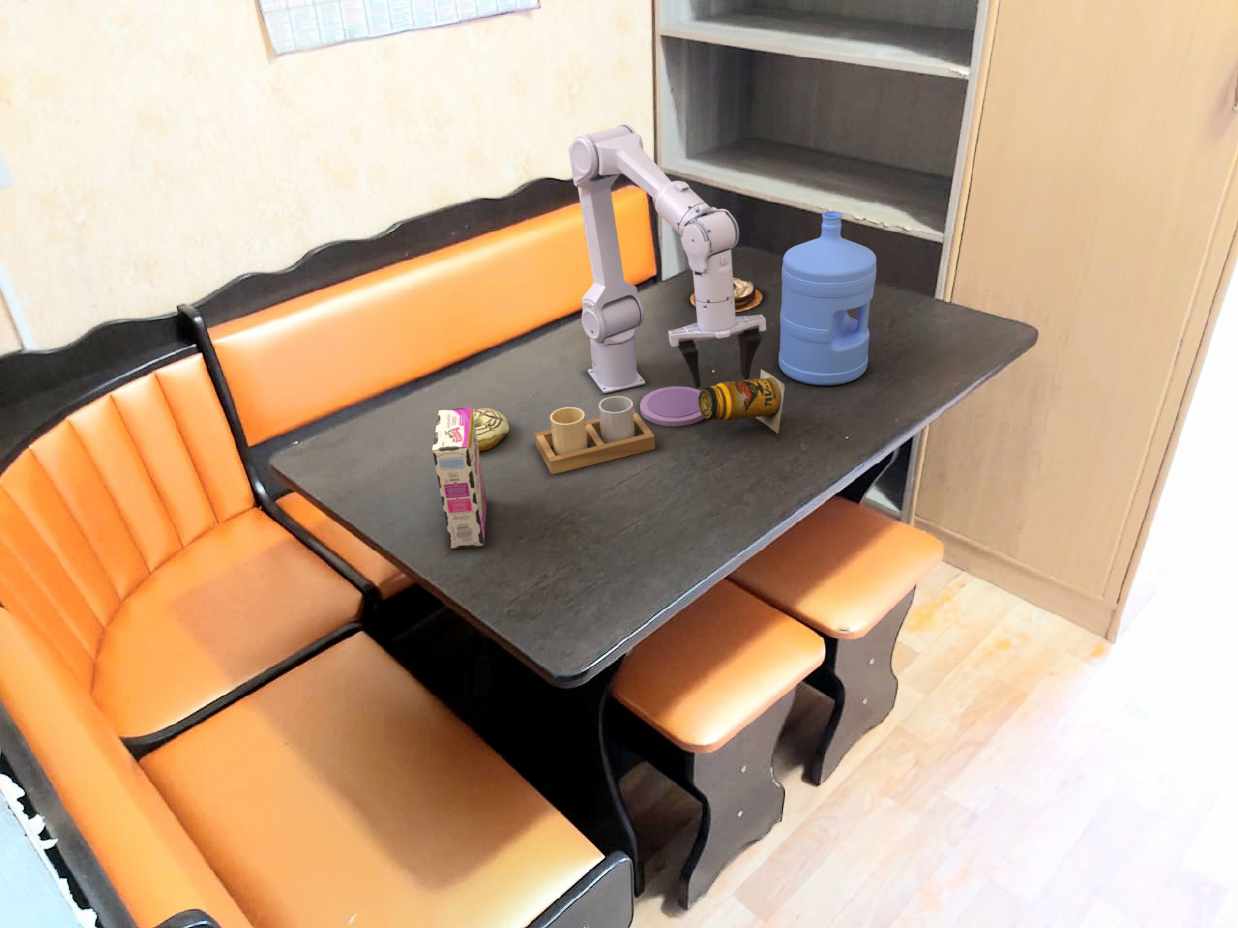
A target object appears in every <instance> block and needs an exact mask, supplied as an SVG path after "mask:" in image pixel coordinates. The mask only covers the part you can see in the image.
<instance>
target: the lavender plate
mask: <svg viewBox="0 0 1238 928" xmlns="http://www.w3.org/2000/svg"><path fill="white" fill-rule="evenodd" d="M700 391H701V389H698V388H695V387H689V386H677V385H676V386H674V385H673V386H666V387H661V388H658V389H655V390H652V391H650V392H649V393H647V394H646V395H645V396H643V397H642V398H641V400H640V403H639V410H640V414H641V416H642V417H643V418H644V419H646V421H648V422H650V423H652V424H655V425H657V426H662V427H664V426H665V427H683V426H689V425H693V424H696V423H699V422H700V421H702V420H705V418H703V416H702V415H701V413H700V410H699V405H698V398H699V393H700Z"/></svg>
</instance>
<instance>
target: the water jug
mask: <svg viewBox="0 0 1238 928" xmlns="http://www.w3.org/2000/svg"><path fill="white" fill-rule="evenodd" d="M821 216H822V223H821V235H820V236H819V237H816V238H814V239H811V240H808V241H806V242H803V243H800V244H796V245H794V246H793V247H791V248H789V249H788V250H787V251H786V252H785V253H784V255H783V258H782V267H781V283H782V284H781V308H780V314H779V322H780V323H779V324H780V335H779V337H780V338H779V352H778V366H779V368H780V370H781V372H782V373H783V374H785V375H786V376H787V377H788V378H790V379H792V380H794V381H796V382H798V383H799V382H800V383H802V384H807V385H812V386H821V387H823V386H824V387H826V386H828V387H831V386H838V385H844V384H847V383H851V382H853V381H855V380H857V379H859V378H860V377H862V375H864V374H865V372H866V371H867V368H868V366H869V365H868V363H869V354H868V353H869V346H870V345H869V344H870V335H871V334H870V330H869V326H868V325H869V315H870V304H871V300H872V299H873V297H874V291H875V283H876V278H877V256H876V254H875V253H874V252H873V251H872V250H871V249H870V248H869V247H867V246H864V245H862V244H859V243H857V242H854V241H851V240H848V239H847V238H843V237H842V236H841V231H842V217H843V213H842V212H840V211H837V210H836V211H834V210H832V211H831V210H829V211H825V212H823V213H822V215H821ZM854 309H858V312H857V318H855V317H854V318H853V317H851V316H850V315H849V314H848V310H849V311H851V310H854Z"/></svg>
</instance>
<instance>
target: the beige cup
mask: <svg viewBox="0 0 1238 928" xmlns="http://www.w3.org/2000/svg"><path fill="white" fill-rule="evenodd" d="M586 421H587V420H586V413H585V412H584V410H583V409H581V408H580V407H576V406H575V407H574V406H565V407H561V408H558V409H555V410H553V411H552V412H551V414H550V415H549V422H550V423H549V424H550V430H551V432H552V440H553V446H552V448H553V453H554V454H555V456H558V455H562V454H566V453H570V452H574V451H578V450H582V449H587V448H589V443H588V441H587V430H586Z"/></svg>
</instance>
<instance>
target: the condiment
mask: <svg viewBox="0 0 1238 928" xmlns="http://www.w3.org/2000/svg"><path fill="white" fill-rule="evenodd" d="M785 387H786V386H785V384H784V383H783V382H782V381H780V380H779V379H778V378H776V377H775V376H773V375H772V374H770V373H768V372H767V371H765V370H763V369H762V368H761V369H760V377H759V378H753V379H743V380H737V381H736V380H735V381H724V382H719V383H717V384H716V385H711V386H705V387H703V388H702V389H700V393H699V398H698V405H699V410H700V413H701V415H702V416H703V418H704V420H705V421H713V420H714V421H719V420H720V421H722V422H728V421H736V420H743V419H752V418H754V419H755V418H756V419H757V420H759V421H760V422H761V423H763V424H764V425H766V426H767V427H769V428H770V429H771V430H772V431H774V432H775V433H776V434H778V435H779V434H780V433H779V432H780V425H781V424H780V422H781V416H782V410H783V404H784V397H785Z"/></svg>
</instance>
